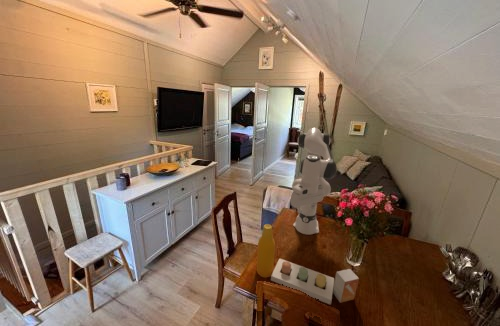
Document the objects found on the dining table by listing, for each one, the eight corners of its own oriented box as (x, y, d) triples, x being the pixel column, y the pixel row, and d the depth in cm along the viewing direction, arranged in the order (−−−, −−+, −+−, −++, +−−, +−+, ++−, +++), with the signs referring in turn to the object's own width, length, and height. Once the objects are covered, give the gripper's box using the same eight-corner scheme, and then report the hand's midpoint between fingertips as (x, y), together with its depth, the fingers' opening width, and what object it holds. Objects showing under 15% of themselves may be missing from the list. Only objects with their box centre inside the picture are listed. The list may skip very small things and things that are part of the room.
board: (279, 262, 123) (279, 258, 122) (333, 282, 110) (334, 278, 109) (270, 280, 110) (271, 275, 110) (330, 304, 98) (331, 300, 97)
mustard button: (316, 279, 109) (317, 272, 108) (325, 282, 107) (326, 275, 106) (314, 286, 105) (316, 279, 104) (324, 289, 103) (325, 282, 102)
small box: (340, 303, 99) (345, 282, 95) (331, 291, 105) (335, 271, 101) (354, 299, 101) (359, 278, 97) (345, 288, 107) (349, 268, 103)
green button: (299, 272, 113) (300, 266, 111) (307, 276, 111) (308, 269, 109) (297, 279, 109) (298, 272, 107) (306, 282, 107) (307, 275, 105)
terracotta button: (283, 266, 116) (283, 260, 115) (291, 269, 114) (291, 263, 113) (280, 272, 112) (281, 266, 111) (288, 275, 110) (289, 269, 109)
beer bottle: (263, 281, 110) (266, 234, 101) (253, 269, 117) (255, 224, 108) (276, 273, 115) (280, 228, 106) (265, 262, 122) (268, 219, 113)
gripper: (319, 182, 115) (315, 204, 119) (289, 187, 106) (287, 212, 110) (328, 186, 110) (324, 209, 114) (298, 192, 100) (295, 218, 104)
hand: (306, 210), depth 112 cm, fingers open, 8 cm apart
